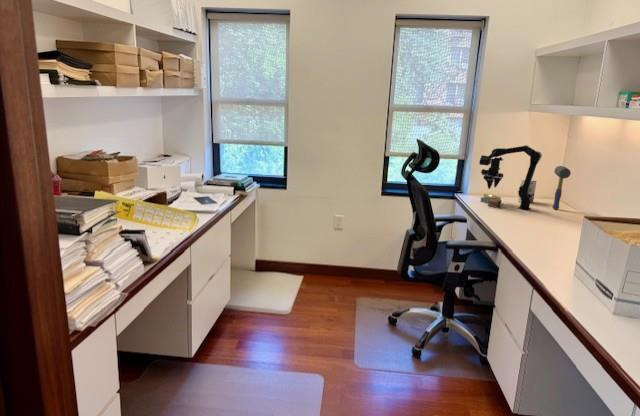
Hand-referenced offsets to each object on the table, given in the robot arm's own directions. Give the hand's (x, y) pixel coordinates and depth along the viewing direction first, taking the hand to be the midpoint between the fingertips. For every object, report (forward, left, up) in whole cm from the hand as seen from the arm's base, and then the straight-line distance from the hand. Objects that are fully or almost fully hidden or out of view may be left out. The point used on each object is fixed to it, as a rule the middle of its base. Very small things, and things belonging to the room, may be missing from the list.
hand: (492, 188), depth 308 cm
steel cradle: (-1, 0, -11) cm, 11 cm away
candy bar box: (-26, +15, -11) cm, 32 cm away
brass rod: (-1, 0, -8) cm, 8 cm away
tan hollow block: (+8, +7, -11) cm, 15 cm away
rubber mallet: (-22, +37, -11) cm, 44 cm away
